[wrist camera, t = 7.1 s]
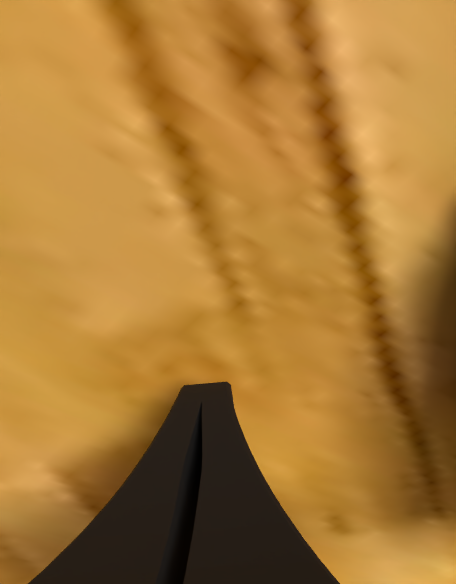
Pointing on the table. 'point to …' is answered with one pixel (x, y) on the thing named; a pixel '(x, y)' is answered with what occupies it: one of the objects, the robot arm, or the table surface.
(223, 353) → the table surface
